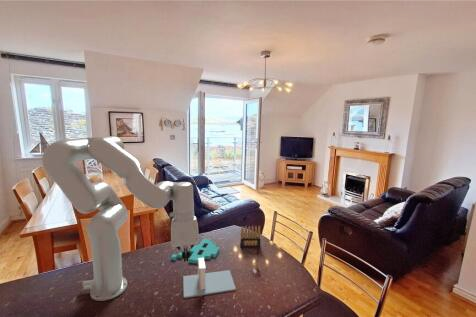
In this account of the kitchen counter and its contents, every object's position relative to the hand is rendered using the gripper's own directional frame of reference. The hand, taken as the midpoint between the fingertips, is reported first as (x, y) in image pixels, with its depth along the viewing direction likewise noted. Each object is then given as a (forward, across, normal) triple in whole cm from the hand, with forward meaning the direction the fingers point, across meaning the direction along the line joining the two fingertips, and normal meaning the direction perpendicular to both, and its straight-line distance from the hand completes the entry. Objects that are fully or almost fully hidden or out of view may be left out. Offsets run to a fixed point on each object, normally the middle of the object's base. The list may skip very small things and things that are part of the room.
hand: (186, 259), depth 90 cm
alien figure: (+13, +6, +25) cm, 29 cm away
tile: (+12, +6, 0) cm, 13 cm away
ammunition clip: (+13, +34, +24) cm, 43 cm away
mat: (+12, +8, 0) cm, 15 cm away
